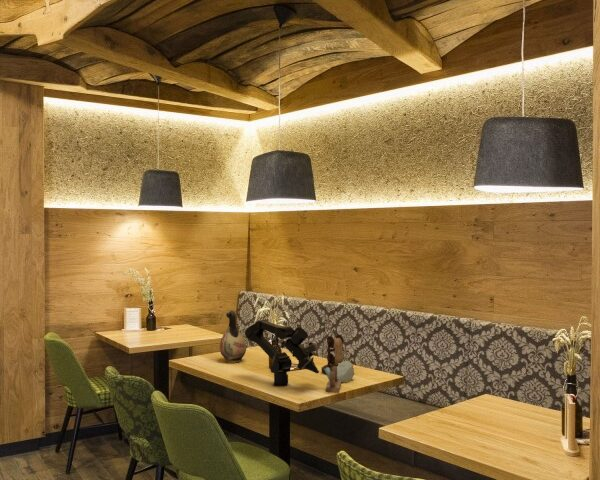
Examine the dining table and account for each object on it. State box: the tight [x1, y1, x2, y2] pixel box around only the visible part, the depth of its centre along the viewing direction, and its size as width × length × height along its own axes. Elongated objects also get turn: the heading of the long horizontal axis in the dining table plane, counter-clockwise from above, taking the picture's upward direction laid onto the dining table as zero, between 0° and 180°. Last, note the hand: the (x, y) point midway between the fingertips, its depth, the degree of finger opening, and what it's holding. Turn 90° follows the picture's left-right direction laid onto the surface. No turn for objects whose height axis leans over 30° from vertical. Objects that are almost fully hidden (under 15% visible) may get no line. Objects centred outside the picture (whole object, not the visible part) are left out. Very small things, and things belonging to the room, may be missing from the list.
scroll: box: [321, 334, 344, 374], centre depth 326 cm, size 15×15×20 cm
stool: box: [325, 366, 342, 394], centre depth 291 cm, size 6×14×10 cm, turn 171°
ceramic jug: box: [219, 310, 247, 364], centre depth 355 cm, size 17×15×30 cm
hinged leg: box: [324, 367, 331, 381], centre depth 292 cm, size 2×2×7 cm
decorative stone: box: [337, 360, 355, 383], centre depth 308 cm, size 13×11×10 cm
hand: (318, 372), depth 292 cm, fingers closed
